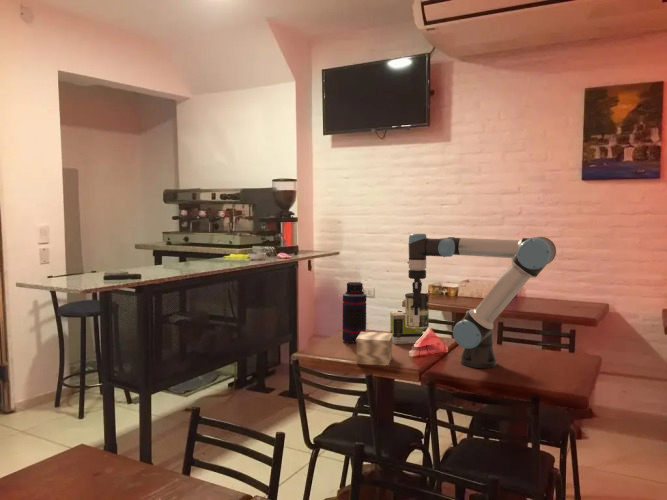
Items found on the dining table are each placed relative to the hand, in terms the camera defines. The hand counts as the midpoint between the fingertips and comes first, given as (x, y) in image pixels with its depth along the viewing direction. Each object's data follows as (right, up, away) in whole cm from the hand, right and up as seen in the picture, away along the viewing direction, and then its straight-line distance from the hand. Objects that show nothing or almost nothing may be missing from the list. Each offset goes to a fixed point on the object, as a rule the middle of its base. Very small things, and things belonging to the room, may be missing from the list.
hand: (416, 320), depth 246 cm
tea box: (+1, -16, +41) cm, 44 cm away
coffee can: (0, -3, 0) cm, 3 cm away
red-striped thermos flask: (-26, -16, +41) cm, 51 cm away
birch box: (-18, -19, +5) cm, 26 cm away
